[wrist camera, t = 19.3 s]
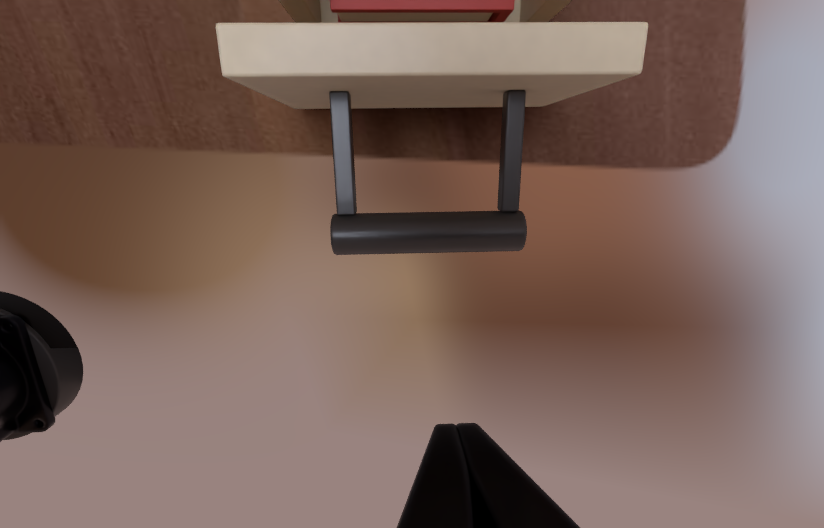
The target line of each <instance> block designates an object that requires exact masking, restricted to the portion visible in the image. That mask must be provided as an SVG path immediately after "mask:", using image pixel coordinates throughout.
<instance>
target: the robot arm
mask: <svg viewBox="0 0 824 528" xmlns="http://www.w3.org/2000/svg"><path fill="white" fill-rule="evenodd" d="M10 324H11V326H12V327H11V326H10ZM54 423H55V417H54V414H53V411H52V407H51V404H50V401H49V398H48V395H47V391H46V388H45V385H44V382H43V379H42V375H41V372H40V369H39V366H38V363H37V359H36V356H35V353H34V350H33V347H32V343H31V340H30V337H29V334H28V331H27V327H26V324H25V322H24V320H23V319H22V318H21V317H19V316H17V315H12V314H11V315H0V442H1V441H2V440H4V439H5V438H6V437H8V436H9V435H11V434H12V433H25V432H43V431H46V430H47V429H48V428H50V427H51V426H52V425H53V424H54ZM397 528H580V527H579V526H578V525H577V524H576V523H575V522H574V521H573V520H572V519H571V518H570V517H569V516H568V515H567V514H566V513H565V512H564V511H563V510H562V509H561V508H560V507H559V506H558V505H557V504H556V503H555V502H554V501H553V500H552V499H551V498H550V497H549V496H548V495H547V494H546V493H545V492H544V491H543V490H542V489H541V488H540V487H539V486H538V485H537V484H536V483H535V482H534V481H533V480H532V479H531V478H530V477H529V476H528V475H527V474H526V473H525V472H524V471H523V470H522V469H521V468H520V467H519V466H518V465H517V464H516V463H515V462H514V461H513V460H512V459H511V458H510V457H509V456H508V455H507V454H506V453H505V452H504V451H503V449H502V448H501V447H499V445H498V444H497V443H496V442H495V441H494V440H493V439H491V437H489V435H488V434H487V433H486V432H484V430H482V428H481V427H480V426H478V425H477V424H475V423H459V424H457V425H454V424H438V425H436V426H435V427H434V430H433V432H432V435H431V438H430V440H429V443H428V446H427V449H426V451H425V454H424V456H423V459H422V462H421V465H420V467H419V470H418V473H417V475H416V478H415V480H414V483H413V486H412V489H411V491H410V494H409V496H408V499H407V502H406V504H405V507H404V510H403V512H402V515H401V518H400V521H399V523H398V526H397Z"/></svg>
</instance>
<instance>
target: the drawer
mask: <svg viewBox="0 0 824 528" xmlns="http://www.w3.org/2000/svg"><path fill="white" fill-rule="evenodd" d="M571 1H572V0H515V2H514V10H513V11H512V12H511V14H510V15H509V16H508V17H507V19H506V20H505V21H504V22H367V23H338V13H333V12H332V11H331V9H330V0H279V2H280V3H281V4H282V5H283V7H284V8H285V9H286V11H287V12H288V13H289V15H290V16H291V17H292V19H293V20H294V21H295V22H296V23H217V24H216V33H217V41H218V48H219V55H220V63H221V70H222V75H223V76H224V77H226V78H228V79H230V80H233V81H235V82H237V83H239V84H241V85H244V86H246V87H248V88H250V89H252V90H255V91H257V92H259V93H261V94H263V95H266V96H268V97H270V98H272V99H274V100H277V101H279V102H281V103H283V104H285V105H288V106H290V107H292V108H294V109H330V114H331V129H332V144H333V159H334V174H335V189H336V205H337V214H334V215H333V216H332V219H331V245H332V249H333V252H334V254H336V255H348V254H391V253H392V254H395V253H439V252H440V253H441V252H485V251H486V252H488V251H519V250H522V249H523V247H524V245H525V241H526V234H527V226H526V220H525V216H524V214H523V213H522V212H521V211H518V209H519V195H520V178H521V163H522V147H523V132H524V116H525V107H543V106H546V105H549V104H552V103H555V102H558V101H561V100H564V99H567V98H570V97H573V96H576V95H579V94H582V93H585V92H588V91H591V90H594V89H597V88H600V87H603V86H606V85H609V84H612V83H615V82H618V81H621V80H624V79H627V78H630V77H633V76H636V75H638V74H640V73H641V72H642V67H643V60H644V53H645V45H646V38H647V31H648V23H646V22H548V21H549V20H550V19H552V18H553V17H554V16H555V15H556V14H557V13H558V12H560V11H561V10H562V9H563V8H564V7H565V6H566V5H567V4H569V3H570V2H571ZM457 107H502V128H501V148H500V170H499V190H498V210H500V211H469V212H414V213H413V212H412V213H363V214H362V213H361V214H360V213H358V214H357V213H356V211H357V207H356V189H355V171H354V170H355V169H354V150H353V130H352V111H351V108H457ZM355 213H356V214H355Z"/></svg>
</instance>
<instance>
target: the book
mask: <svg viewBox="0 0 824 528" xmlns="http://www.w3.org/2000/svg"><path fill="white" fill-rule="evenodd" d="M514 2H515V0H330V9H331V11H332V12H333V13H338V23H367V22H504V21H505V20H506V19H507V17H508V16H509V15H510V14H511V12H512V11H513V10H514Z"/></svg>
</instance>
